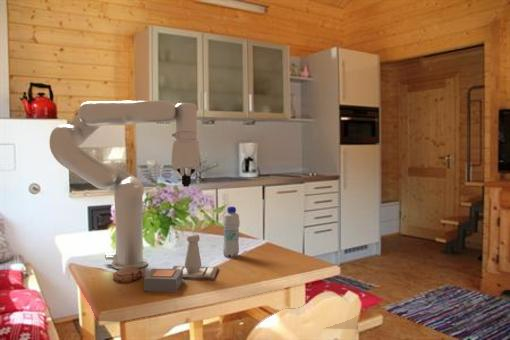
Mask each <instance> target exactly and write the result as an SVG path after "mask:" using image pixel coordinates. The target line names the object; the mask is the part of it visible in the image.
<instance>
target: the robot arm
mask: <svg viewBox="0 0 510 340" xmlns="http://www.w3.org/2000/svg"><path fill="white" fill-rule="evenodd" d="M197 110H198V109H197V105H196V104H195V103H193V102H179V103H172V102H170V101H168V100H137V101H136V100H134V101H133V100H121V101H120V100H119V101H117V100H116V101H115V100H113V101H112V100H111V101H86V102H83V103H81V104H80V105H79V107H78V110H77V115H76V116H75V118H72V120H70V122H68V123H67V124H60V125H57V126H56V127H54V129H52V131H51V132H50V136H49V149H50V152H51V154H52V157H54V159H55V160H56V162H57V163H59V164H60V165H61V166H62V167H64V168H65V169H67V170H69V171H70V172H72V173H73V174H75V175H76V176H78V177H80V178H81V179H82V180H84V181H86V182H88V183H89V184H91V185H92V186H94V187H95V188H97V189H100V190H108V191H109V192H111V193H113V194H114V210H115V211H114V214H115V219H114V221H115V252H114V253H112V252H109V253H108V252H106V253H105V254H104V258H105V261H106V260H108V261H109V260H110V261H111V260H112V262H111V264H110V265H111V268H114V269H116V270H120V269H125V268H130V267H132V268H137V269H140V268H143V267H146V266H147V265H148V261H147V259H146V258H144V253H143V252H144V251H143V250H144V246H143V245H144V241H143V239H144V238H143V237H144V235H143V233H144V232H143V230H144V228H143V222H144V221H143V218H144V217H143V197H144V192H145V187H144V184H143V182H142V181H141V180H140V179H139V178H137V177H136V176H134V175H132V174H131V173H129V172H128V171H126V170H124V169H123V168H121V167H119V166H118V165H116V164H114V163H112V162H109V161H102V160H100V159H98V158H96V157H94V156H93V155H91V153H89V152H88V151H85V150H84V149H82V148H80V146H82V144H83V143H85V141H86V140H87V139H88V138H89V137H91V136H92V135H93V134H94V133H95V132H96V131H97V130H98V129H99V128H100V127H101V126H129V125H134V124H143V123H145V124H146V123H164V124H168V123H175V132H174V133H172V134H171V138H175V140H173V142H172V148H171V150H172V151H171V162H170V163H171V170H172V171H175V172H178V173H179V174H180V176H181V185H182V186H183V188H185V187H186V188H187V187H190V185H191V184H192V182H191V181H192V180H191V177H192V175H193V174H194V173H195V172H199V171H201V170H202V167H201V149H200V142H199V140H197V138H198V137H197V135H198V133H197V132H198V131H197V128H198V127H197V125H198V124H197V123H198V122H197V116H198V115H197V113H198V111H197ZM186 169H187V173H186Z"/></svg>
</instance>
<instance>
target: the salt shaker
mask: <svg viewBox="0 0 510 340" xmlns="http://www.w3.org/2000/svg"><path fill="white" fill-rule="evenodd" d="M200 238H201V237H200V235H199V234H198V233H189V234H187V236H186V241H187V242H188V244H187V250H186V254H185V260H184V266H185V267H186V270H187V272H188V273H197V272H198V271H199V269H200V267H202V260H201V255H200V254H201V253H200V249H199V248H200V247H199V242H200Z"/></svg>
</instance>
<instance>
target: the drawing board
mask: <svg viewBox="0 0 510 340" xmlns="http://www.w3.org/2000/svg"><path fill="white" fill-rule="evenodd" d="M171 269H183V280H196V281H197V280H199V281H215V278H216V275H217V273H218V271H219V266H201V267H200V269H199V271H198V272H197V273H188V272H187V270H186V267H185V265H174V266H173V267H172V268H171Z"/></svg>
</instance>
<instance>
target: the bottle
mask: <svg viewBox="0 0 510 340" xmlns="http://www.w3.org/2000/svg"><path fill="white" fill-rule="evenodd" d="M226 211H227V212H226V213H225V214H224V215H223V221H222V224H223V225H222V226H223V244H222V245H223V246H222V247H223V249H222V253H223V255H224V256H225V257H227V258H229V257H231V258H233V257H237V256H238V255H239V252H240V247H239V244H240V243H239V237H240V236H239V228H240V226H241V225H240V223H241V221H240V214H238V213H236V212H237V209H236V207H235V206H228V207H227V210H226Z"/></svg>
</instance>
